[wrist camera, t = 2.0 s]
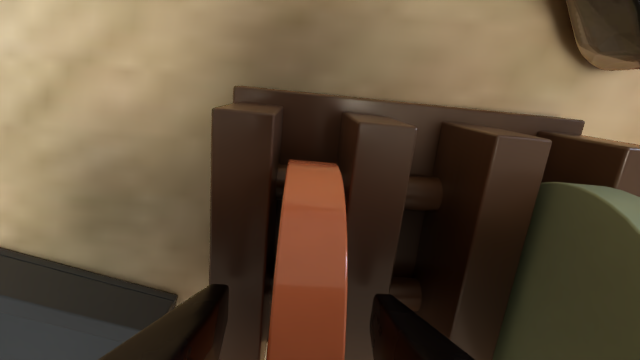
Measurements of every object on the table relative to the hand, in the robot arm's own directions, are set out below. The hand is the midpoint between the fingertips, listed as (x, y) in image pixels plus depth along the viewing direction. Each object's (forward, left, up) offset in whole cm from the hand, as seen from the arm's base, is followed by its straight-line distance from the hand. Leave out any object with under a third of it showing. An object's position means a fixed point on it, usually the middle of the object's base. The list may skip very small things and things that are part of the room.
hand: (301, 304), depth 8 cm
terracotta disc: (0, 0, 0) cm, 0 cm away
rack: (+1, -3, -6) cm, 7 cm away
